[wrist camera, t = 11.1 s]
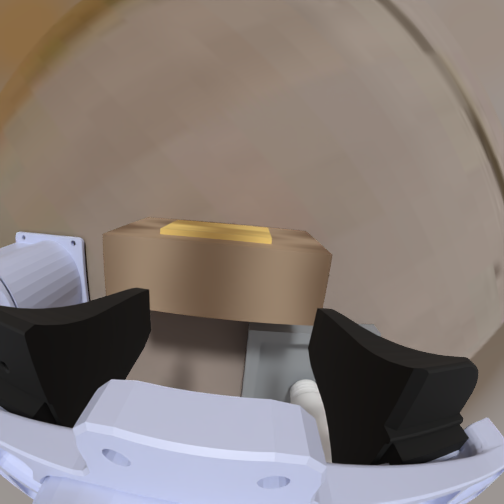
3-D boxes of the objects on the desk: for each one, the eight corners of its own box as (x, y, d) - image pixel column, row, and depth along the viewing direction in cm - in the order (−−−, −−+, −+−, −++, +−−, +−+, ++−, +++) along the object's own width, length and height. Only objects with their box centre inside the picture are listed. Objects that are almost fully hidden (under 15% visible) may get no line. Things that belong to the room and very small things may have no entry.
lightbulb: (344, 386, 23) (379, 475, 13) (290, 413, 24) (303, 505, 13) (316, 346, 22) (353, 448, 11) (256, 379, 23) (258, 483, 12)
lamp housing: (147, 274, 21) (107, 311, 14) (147, 213, 20) (102, 228, 13) (297, 289, 21) (316, 335, 15) (306, 227, 20) (333, 249, 13)
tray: (239, 410, 25) (239, 423, 23) (249, 318, 22) (249, 330, 20) (342, 410, 25) (346, 421, 23) (373, 324, 22) (381, 334, 20)
